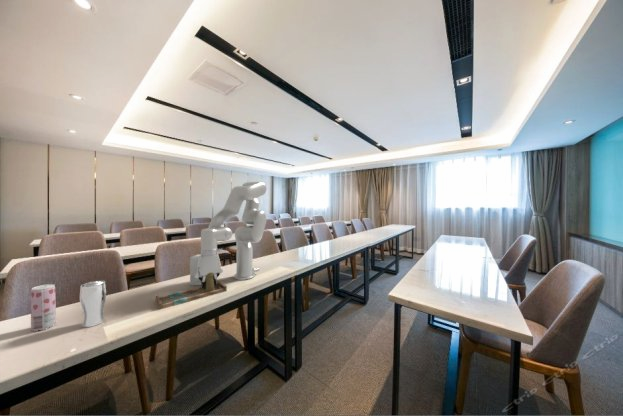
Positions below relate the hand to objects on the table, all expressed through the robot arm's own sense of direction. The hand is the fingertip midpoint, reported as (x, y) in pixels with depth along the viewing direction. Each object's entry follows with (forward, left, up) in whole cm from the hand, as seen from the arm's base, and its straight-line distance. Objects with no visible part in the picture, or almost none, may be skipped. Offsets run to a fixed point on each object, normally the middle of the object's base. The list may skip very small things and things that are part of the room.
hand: (209, 287), depth 111 cm
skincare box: (0, -17, -3) cm, 17 cm away
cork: (0, 0, -2) cm, 2 cm away
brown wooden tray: (+8, 0, -2) cm, 8 cm away
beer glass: (+42, +1, -2) cm, 42 cm away
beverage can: (+55, -7, -2) cm, 55 cm away
